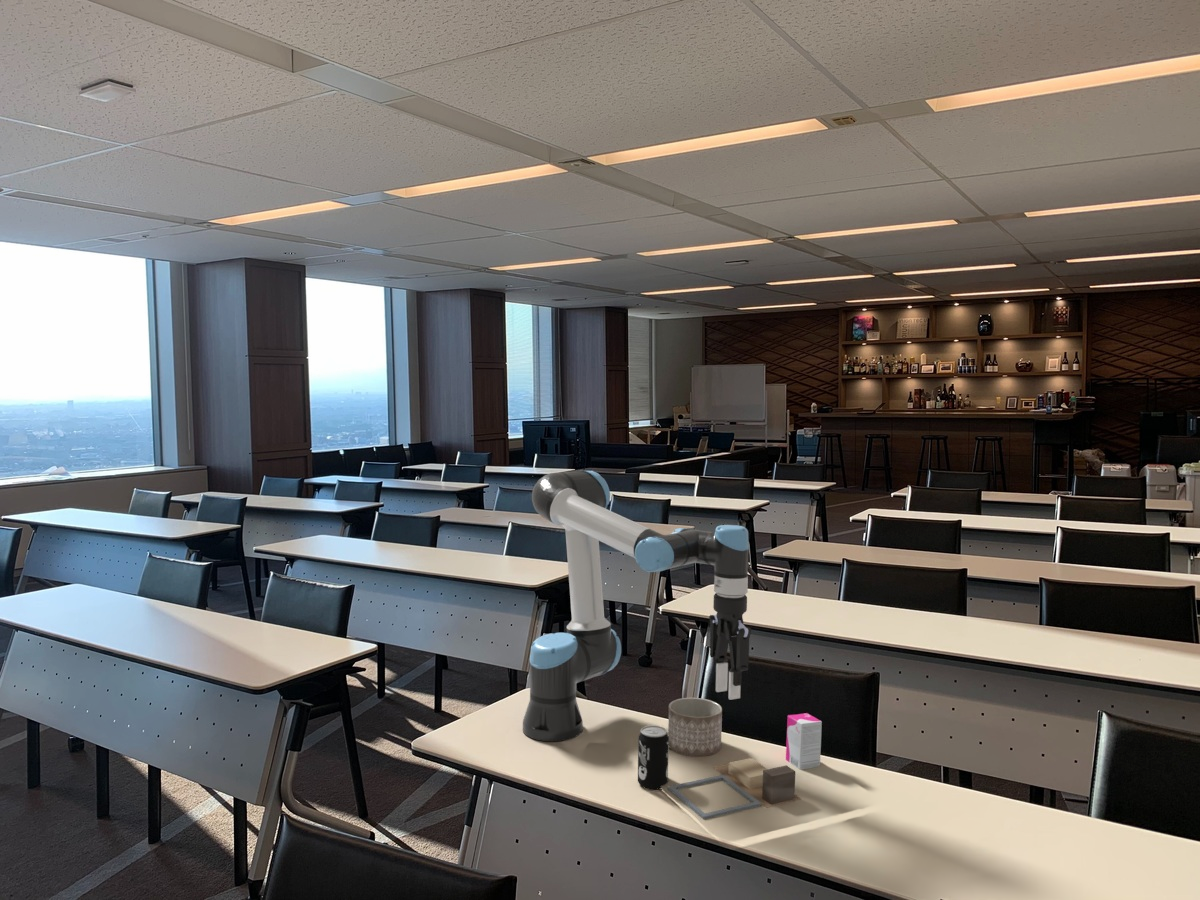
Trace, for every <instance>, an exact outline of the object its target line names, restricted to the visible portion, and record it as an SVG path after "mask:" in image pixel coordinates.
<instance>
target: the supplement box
mask: <svg viewBox="0 0 1200 900" xmlns="http://www.w3.org/2000/svg"><path fill="white" fill-rule="evenodd" d="M786 723H787V725H786V727H787V728H786V741H785V744H786V747H785V761H786V762H788V763H790V765H792V766H793V767H795V768H796V769H798V770H805V769H806V770H807V769H811V768H817V767H820V766H821V750H822V749H821V748H822V725H823V724H822V723H823V722H822V720H820V719H818V718H817V717H815V716H813V715H811V714H809V713H808V712H806V713H798V714H788V715H787V721H786Z"/></svg>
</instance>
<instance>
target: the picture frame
mask: <svg viewBox="0 0 1200 900" xmlns="http://www.w3.org/2000/svg"><path fill="white" fill-rule="evenodd" d="M718 781H723V782H724V783H726V785H728V786H730V787H731V788H732V789H734V791H736V792H738V793H739V794H740V795H741V796H742V797H744V798H745V799H747V800H748V801H749V802H748V803H745V804H740V805H735V806H732V807H727V808H722V809H719V810H714V811H710V812H706V813H705V812H704V811H703V810H702V809H701V808H699V807H698V806H697V805H696V804H695V803H693V801H691V800H690V799H689V798H687V797H686V796H685V795H684V794H683V793H682V792H681V791H680V790H682V789H686V788H687V789H688V788H690V787H695V786H700V785H704V784H710V783H715V782H718ZM667 787H668V788H667V789H668V790H669V791H670V792H671V793H672V794H674V795H675V796H676V797H677V798H678V799H679V800H680V801H681V802H683V803H684V804H685V805H686V806H687V807H688V808H689V809H691V810H692V811H693V813H695V814H697V816H699V817H700V819H701V818H702V820H706V819H711V818H714V817H718V816H719V817H720V816H724V815H728V814H731V813H736V812H741V811H747V810H749V809H753V808H758V807H761V806H762V803H761V802H759V801H758V800H757V799H755V798H754V797H753V796H751V795H750V794H749V793H747V792H746V791H745V790H743V789H742V788H741V787H739V786H738V785H737V784H735V783H734V782H733V781H731V780H730V779H729V778H727V777H726V776H725V775H722V774H720V775H715V776H711V777H710V776H709V777H706V778H702V779H701V778H700V779H696V780H692V781H688V782H682V783H679V784H674V785H668V786H667Z"/></svg>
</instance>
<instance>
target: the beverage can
mask: <svg viewBox="0 0 1200 900" xmlns="http://www.w3.org/2000/svg"><path fill="white" fill-rule="evenodd" d="M637 738H638V741H637V743H638V748H637V749H638V750H637V782H638V783H639V785H640V786H641V787H642V788H644V789H646V790H649V791H650V790H651V791H657V790H661V789H663V787H662V786H665V785H667V784H668V781H669V748H670V747H669V737H668V729H667V728H665V727H664V726H660V725H646V726H643V727H642V728H641V729H640V733H639V735H638V737H637Z"/></svg>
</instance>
